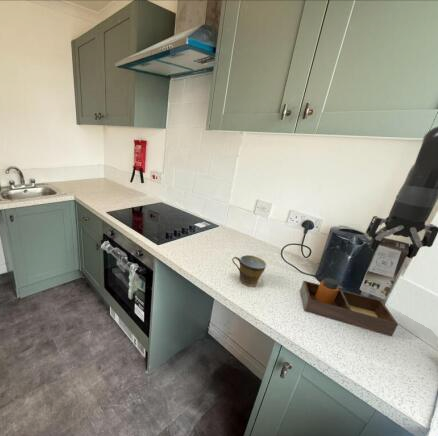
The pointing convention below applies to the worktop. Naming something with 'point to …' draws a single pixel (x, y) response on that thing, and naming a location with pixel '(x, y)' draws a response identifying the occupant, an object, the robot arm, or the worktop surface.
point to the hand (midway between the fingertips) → (390, 253)
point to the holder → (350, 309)
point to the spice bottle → (327, 291)
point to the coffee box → (384, 267)
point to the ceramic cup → (250, 269)
